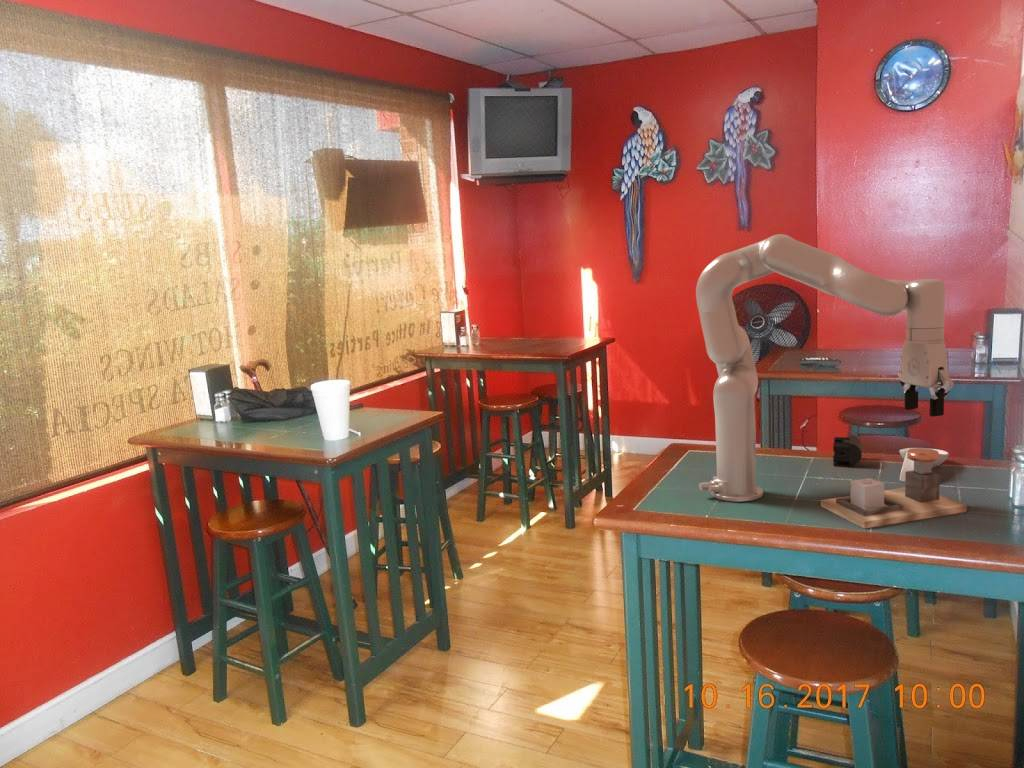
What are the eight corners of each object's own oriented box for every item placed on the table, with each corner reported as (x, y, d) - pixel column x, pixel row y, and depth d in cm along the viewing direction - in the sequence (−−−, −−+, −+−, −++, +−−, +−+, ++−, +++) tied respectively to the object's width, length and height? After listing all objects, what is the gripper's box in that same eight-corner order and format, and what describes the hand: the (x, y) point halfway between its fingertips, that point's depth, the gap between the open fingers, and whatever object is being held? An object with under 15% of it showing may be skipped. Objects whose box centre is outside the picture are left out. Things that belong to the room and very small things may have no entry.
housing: (850, 503, 187) (850, 479, 186) (869, 500, 188) (869, 476, 187) (864, 510, 183) (864, 485, 182) (884, 507, 184) (884, 482, 183)
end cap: (861, 468, 218) (861, 444, 217) (833, 467, 221) (833, 443, 220) (861, 458, 227) (861, 434, 226) (834, 457, 230) (834, 434, 229)
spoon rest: (903, 457, 226) (904, 432, 224) (951, 462, 219) (952, 436, 217) (885, 481, 207) (885, 454, 206) (936, 487, 200) (937, 458, 199)
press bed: (864, 528, 176) (864, 495, 175) (820, 506, 191) (820, 475, 190) (966, 511, 182) (967, 479, 180) (916, 491, 197) (916, 461, 196)
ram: (920, 486, 183) (920, 457, 182) (900, 479, 190) (901, 450, 188) (944, 483, 185) (945, 453, 184) (924, 475, 191) (925, 446, 190)
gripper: (884, 332, 189) (883, 407, 192) (939, 340, 172) (937, 422, 175) (912, 329, 190) (911, 403, 194) (969, 337, 174) (967, 417, 177)
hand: (923, 411), depth 184 cm, fingers open, 7 cm apart
